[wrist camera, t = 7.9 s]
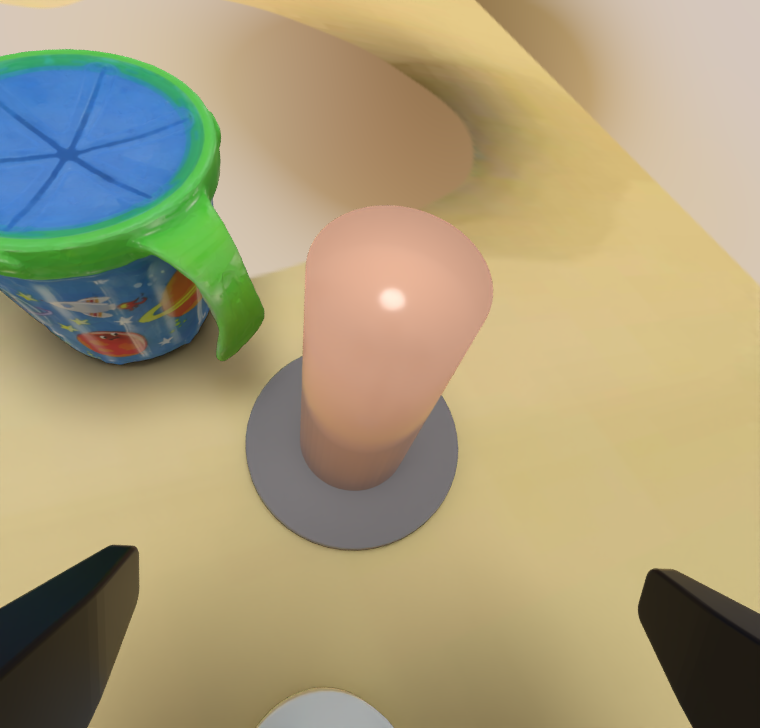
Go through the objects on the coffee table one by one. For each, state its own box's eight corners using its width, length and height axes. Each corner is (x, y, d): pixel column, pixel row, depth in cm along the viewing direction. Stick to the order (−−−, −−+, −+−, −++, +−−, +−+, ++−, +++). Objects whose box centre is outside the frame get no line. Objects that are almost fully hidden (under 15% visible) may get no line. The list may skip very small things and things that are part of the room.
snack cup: (-54, 273, 25) (-239, 74, 16) (128, 179, 30) (60, -13, 21) (150, 480, 22) (54, 368, 13) (317, 336, 27) (329, 185, 18)
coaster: (455, 560, 22) (459, 558, 21) (225, 538, 21) (223, 535, 21) (453, 365, 27) (456, 359, 26) (267, 339, 26) (267, 333, 26)
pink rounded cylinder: (422, 468, 23) (527, 326, 13) (321, 507, 22) (347, 380, 11) (381, 378, 25) (442, 192, 15) (285, 407, 24) (279, 223, 13)
